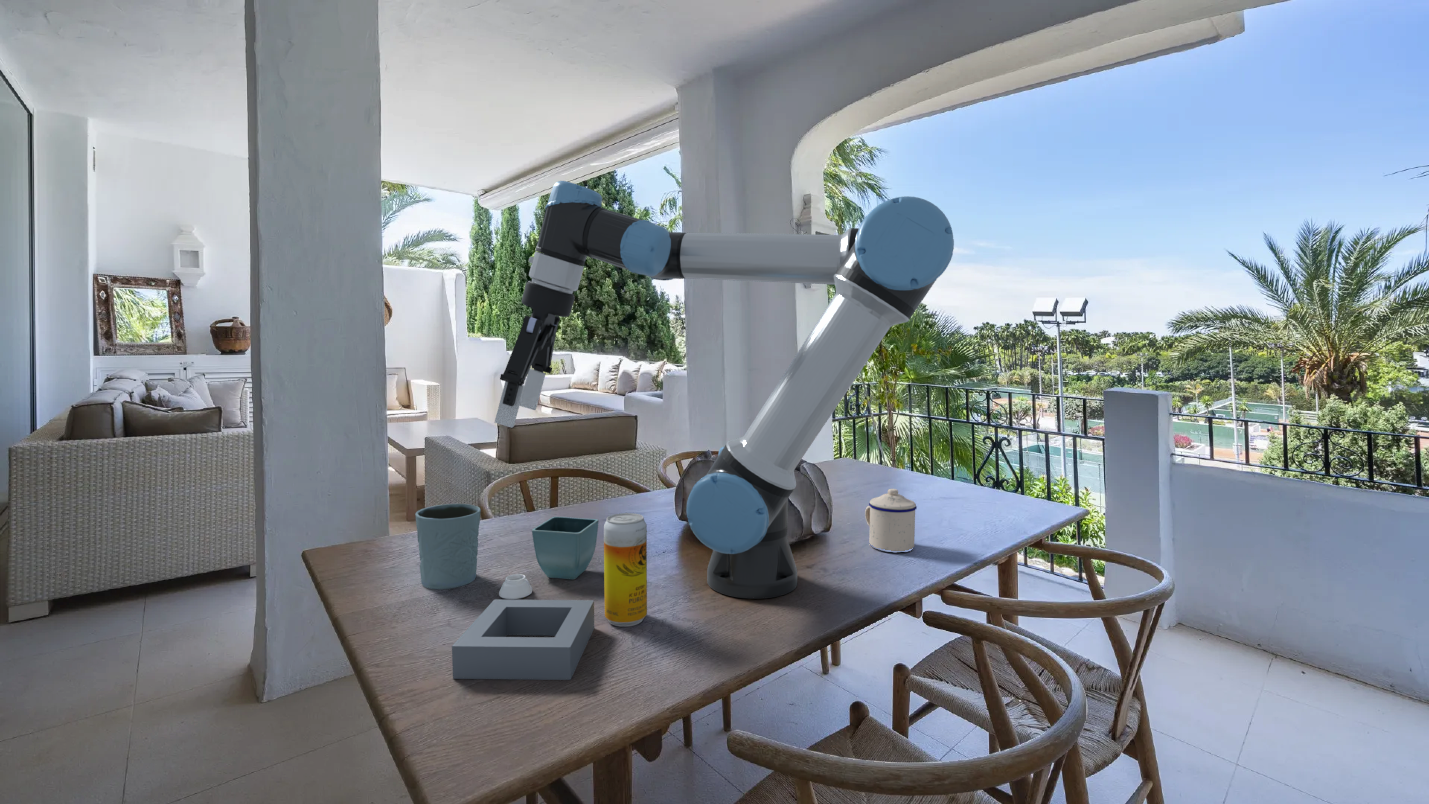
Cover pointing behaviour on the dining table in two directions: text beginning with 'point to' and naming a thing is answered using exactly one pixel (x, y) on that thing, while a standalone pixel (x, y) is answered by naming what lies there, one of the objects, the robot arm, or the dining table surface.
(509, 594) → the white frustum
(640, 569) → the beer can
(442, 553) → the light blue cup
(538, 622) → the sleeve
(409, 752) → the dining table surface
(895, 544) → the teacup with lid
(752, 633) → the dining table surface
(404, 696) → the dining table surface
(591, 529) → the flower pot
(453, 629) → the dining table surface
